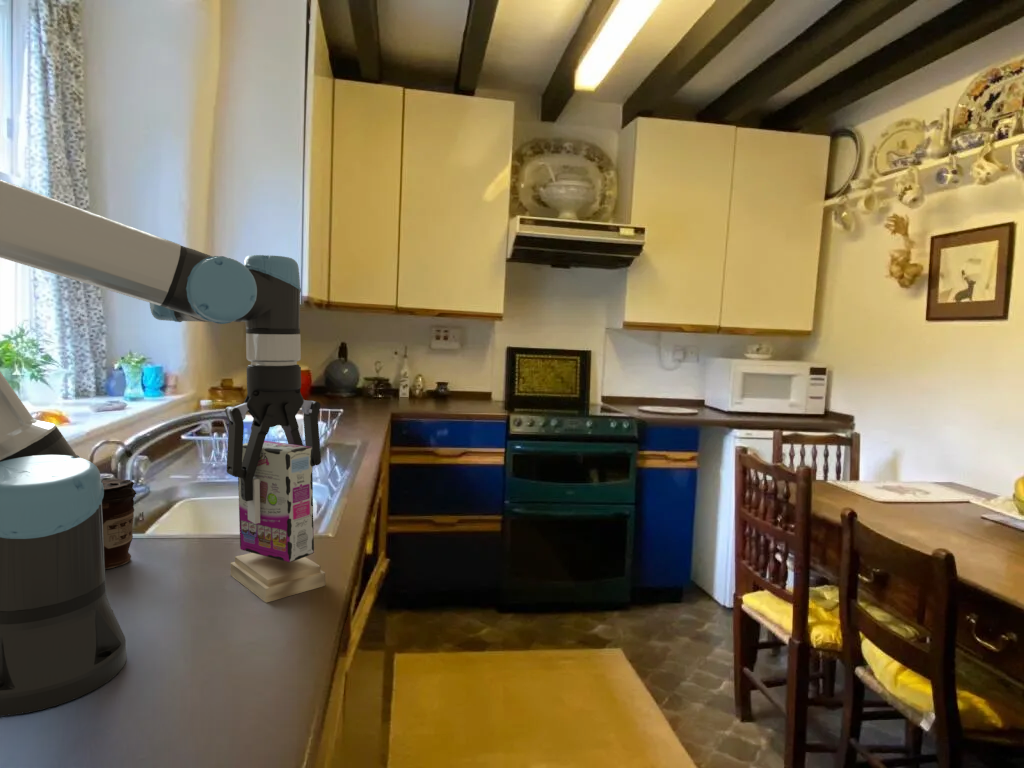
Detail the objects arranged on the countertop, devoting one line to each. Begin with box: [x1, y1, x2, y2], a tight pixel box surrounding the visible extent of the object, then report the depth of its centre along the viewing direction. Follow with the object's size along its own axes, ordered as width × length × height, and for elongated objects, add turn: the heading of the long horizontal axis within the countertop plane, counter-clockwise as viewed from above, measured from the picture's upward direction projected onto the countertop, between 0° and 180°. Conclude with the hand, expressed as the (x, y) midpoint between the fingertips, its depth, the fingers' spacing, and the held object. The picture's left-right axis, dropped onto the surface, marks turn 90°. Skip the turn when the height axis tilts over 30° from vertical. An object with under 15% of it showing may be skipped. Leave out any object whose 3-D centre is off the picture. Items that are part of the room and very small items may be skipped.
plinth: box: [229, 552, 326, 603], centre depth 98 cm, size 9×13×3 cm
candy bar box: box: [237, 440, 315, 562], centre depth 97 cm, size 11×5×16 cm, turn 61°
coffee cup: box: [101, 478, 137, 570], centre depth 103 cm, size 9×8×13 cm
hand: (276, 516), depth 97 cm, fingers closed on candy bar box, 6 cm apart
